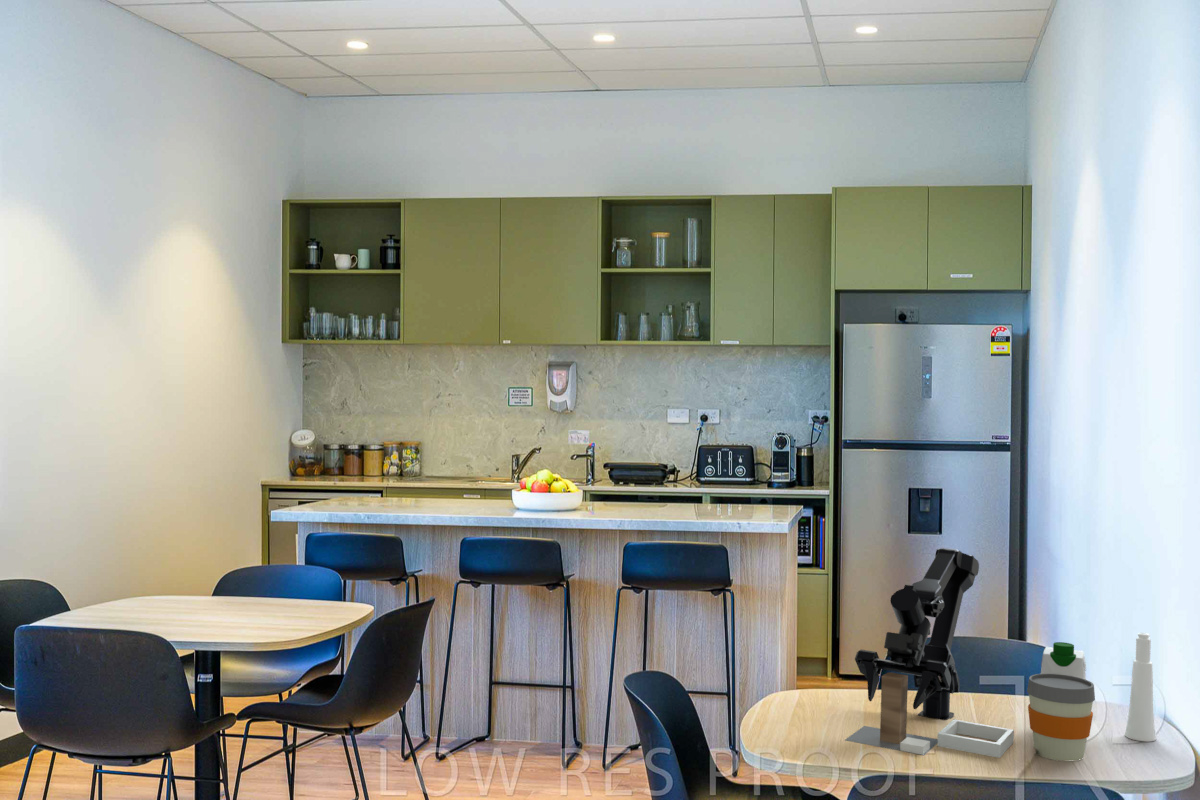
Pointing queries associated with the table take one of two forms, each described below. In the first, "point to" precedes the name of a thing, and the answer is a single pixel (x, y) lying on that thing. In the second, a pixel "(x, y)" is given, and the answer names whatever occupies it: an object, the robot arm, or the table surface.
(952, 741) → the box
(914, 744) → the tile on board
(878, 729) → the slate board
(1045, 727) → the reusable coffee cup
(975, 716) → the table surface
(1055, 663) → the milk carton
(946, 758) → the table surface
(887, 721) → the walnut handle
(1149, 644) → the cosmetic bottle
